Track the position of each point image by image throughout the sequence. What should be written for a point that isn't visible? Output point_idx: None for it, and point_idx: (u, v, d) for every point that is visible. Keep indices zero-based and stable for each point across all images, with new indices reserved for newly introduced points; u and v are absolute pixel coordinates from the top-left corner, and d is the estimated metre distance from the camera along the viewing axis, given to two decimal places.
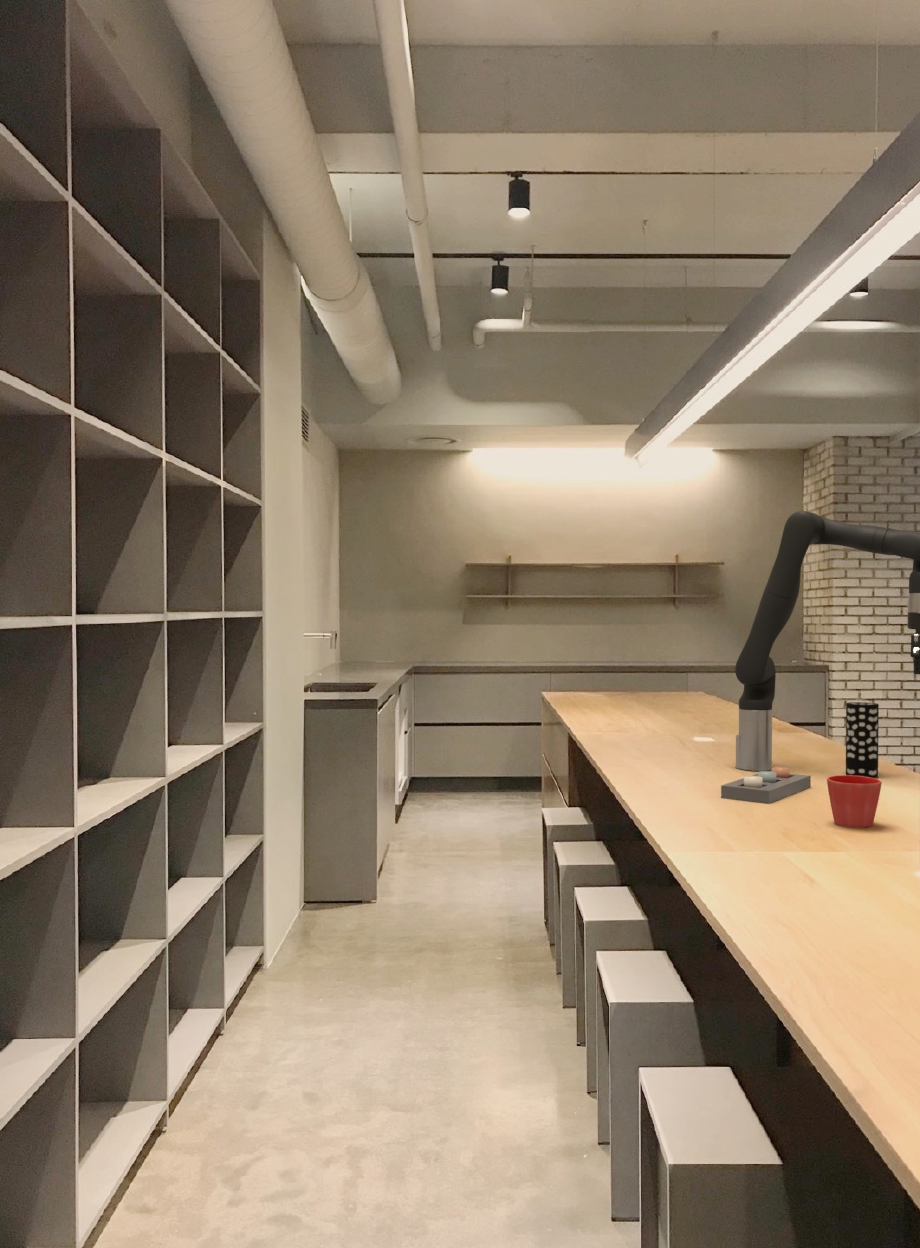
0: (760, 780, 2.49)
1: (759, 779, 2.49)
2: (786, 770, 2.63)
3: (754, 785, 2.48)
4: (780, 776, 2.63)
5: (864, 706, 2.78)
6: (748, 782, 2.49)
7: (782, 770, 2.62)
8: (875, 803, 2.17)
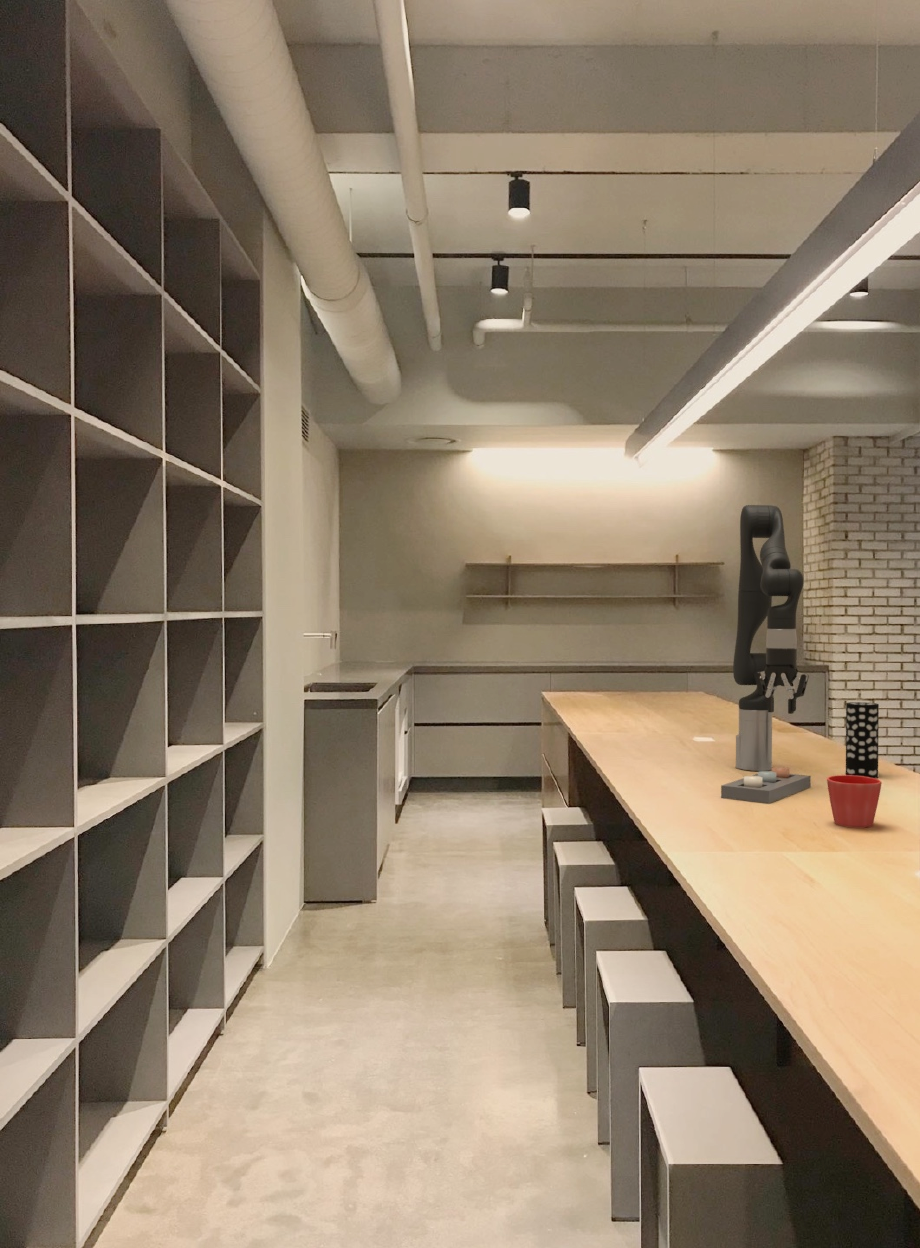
0: (760, 780, 2.49)
1: (759, 779, 2.49)
2: (786, 770, 2.63)
3: (754, 785, 2.48)
4: (780, 776, 2.63)
5: (864, 706, 2.78)
6: (748, 782, 2.49)
7: (782, 770, 2.62)
8: (875, 803, 2.17)
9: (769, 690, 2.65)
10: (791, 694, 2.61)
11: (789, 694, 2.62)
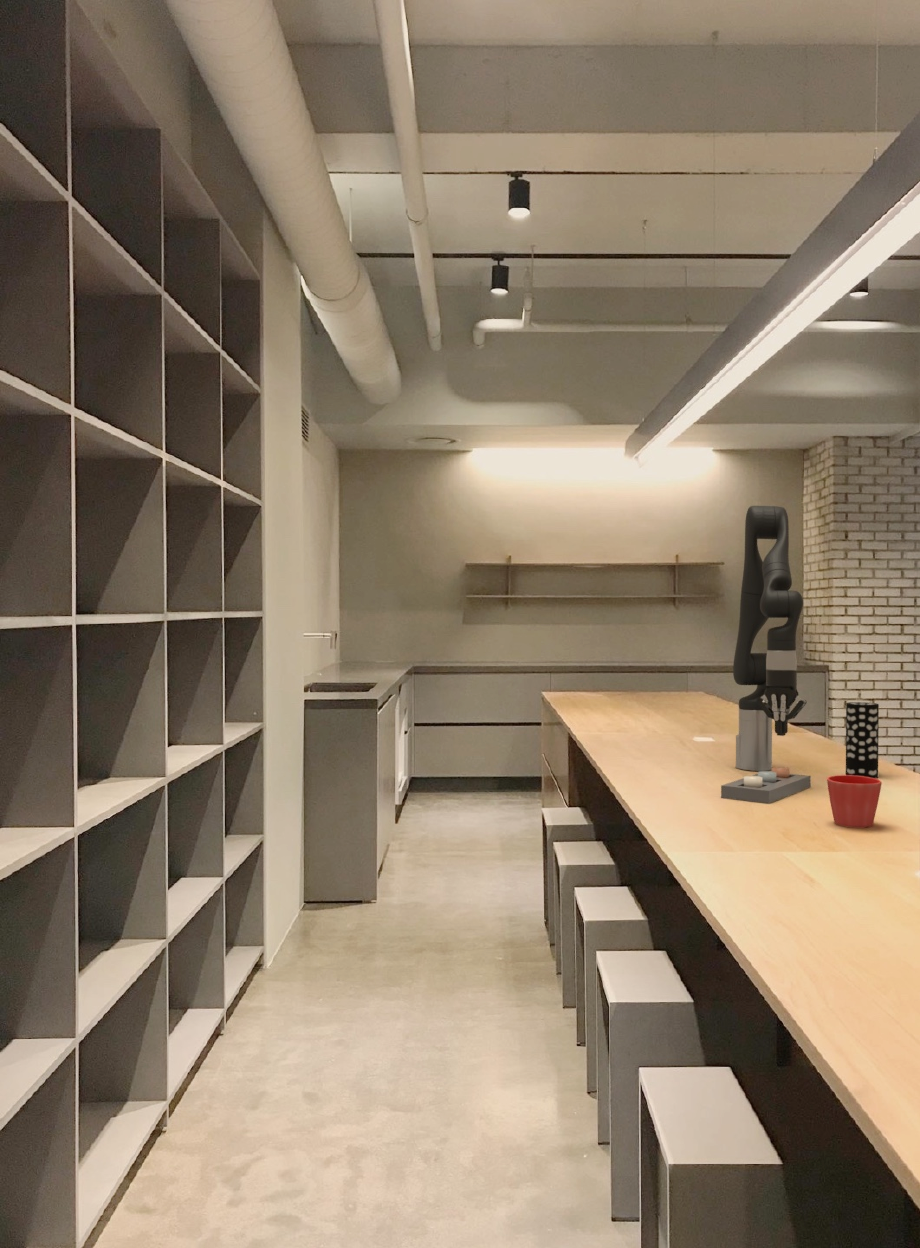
0: (760, 780, 2.49)
1: (759, 779, 2.49)
2: (786, 770, 2.63)
3: (754, 785, 2.48)
4: (780, 776, 2.63)
5: (864, 706, 2.78)
6: (748, 782, 2.49)
7: (782, 770, 2.62)
8: (875, 803, 2.17)
9: (776, 713, 2.64)
10: (783, 716, 2.63)
11: (782, 716, 2.63)
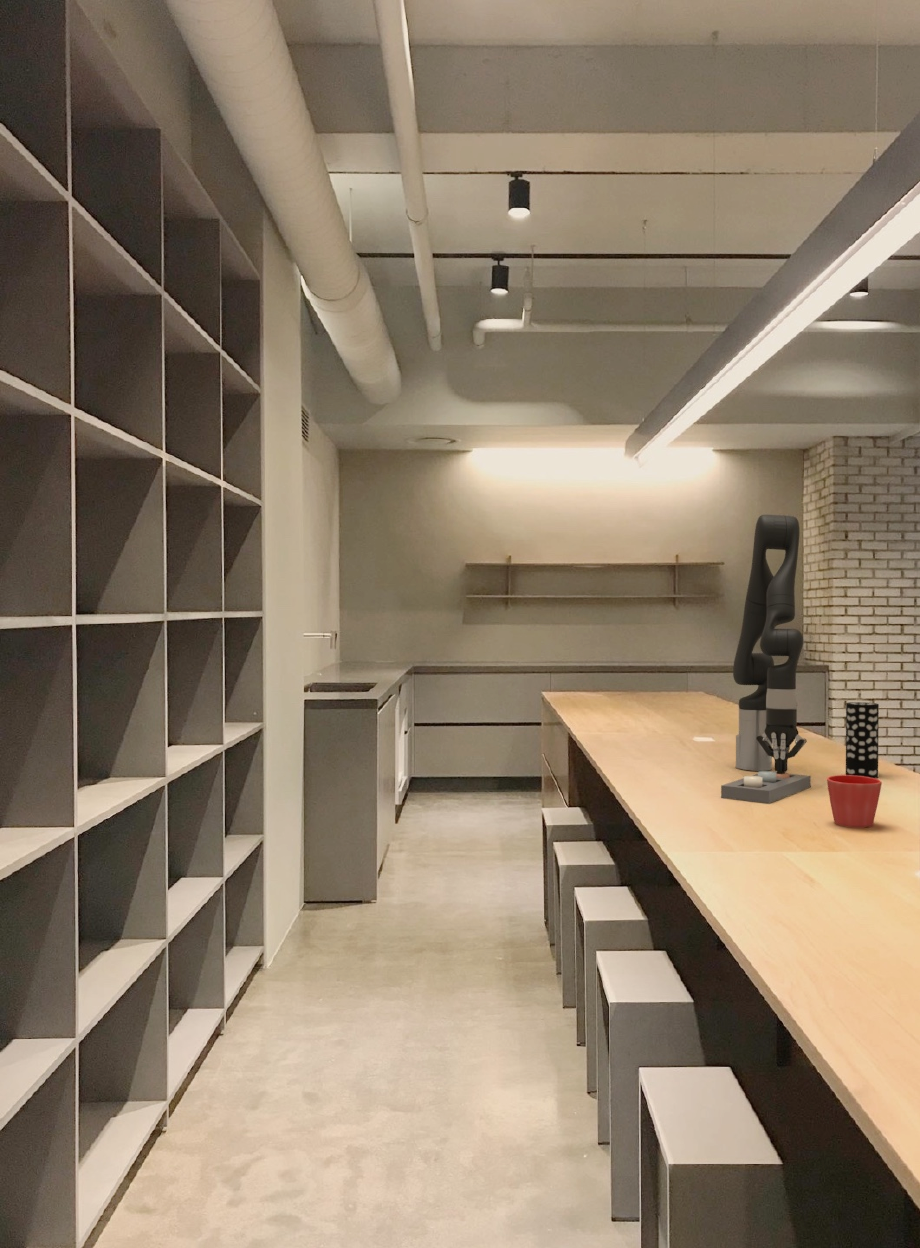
0: (760, 780, 2.49)
1: (759, 779, 2.49)
2: (786, 775, 2.63)
3: (754, 785, 2.48)
4: None
5: (864, 706, 2.78)
6: (748, 782, 2.49)
7: (782, 775, 2.62)
8: (875, 803, 2.17)
9: (776, 751, 2.64)
10: (782, 755, 2.63)
11: (781, 754, 2.63)
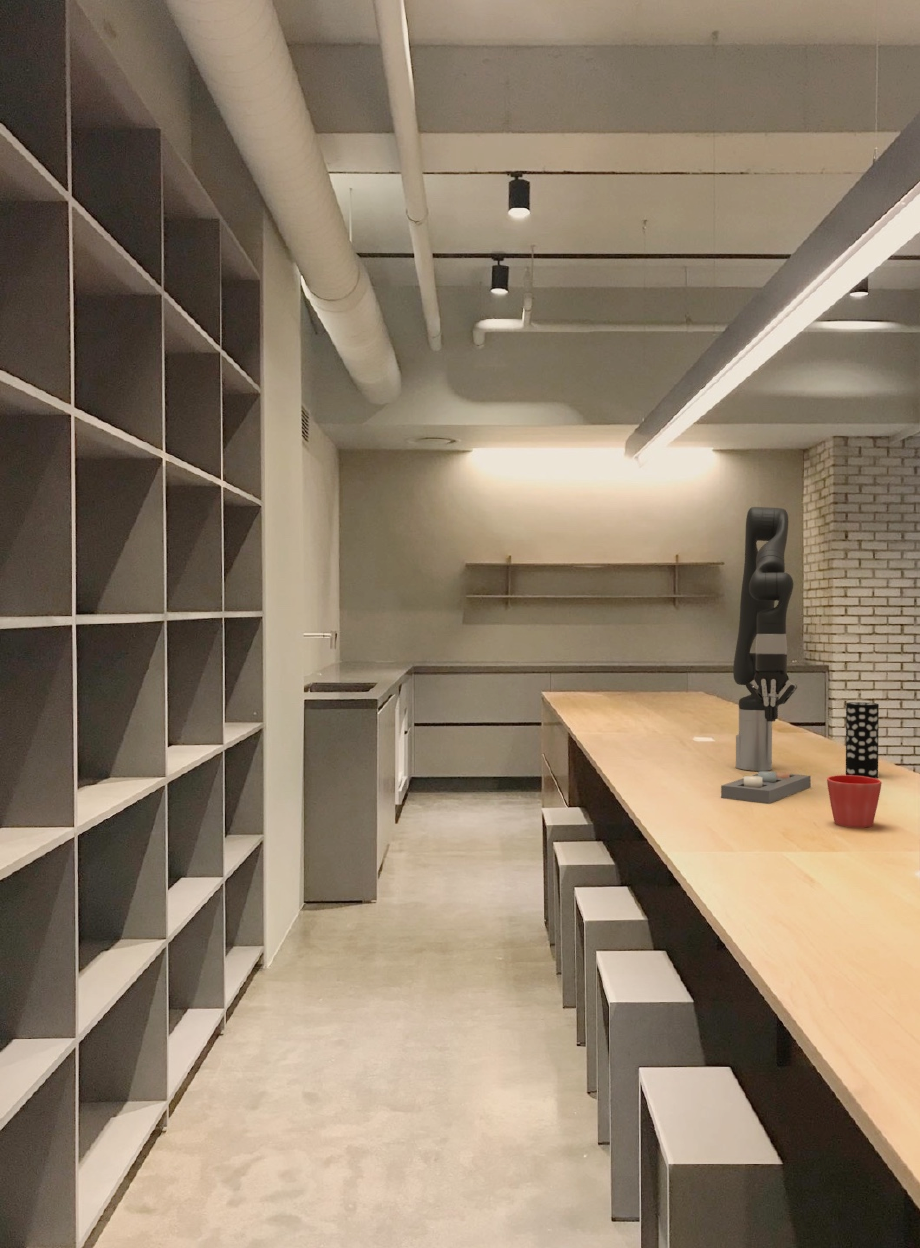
0: (760, 780, 2.49)
1: (759, 779, 2.49)
2: (786, 776, 2.63)
3: (754, 785, 2.48)
4: None
5: (864, 706, 2.78)
6: (748, 782, 2.49)
7: (782, 776, 2.62)
8: (875, 803, 2.17)
9: (766, 698, 2.57)
10: (773, 701, 2.56)
11: (772, 701, 2.56)
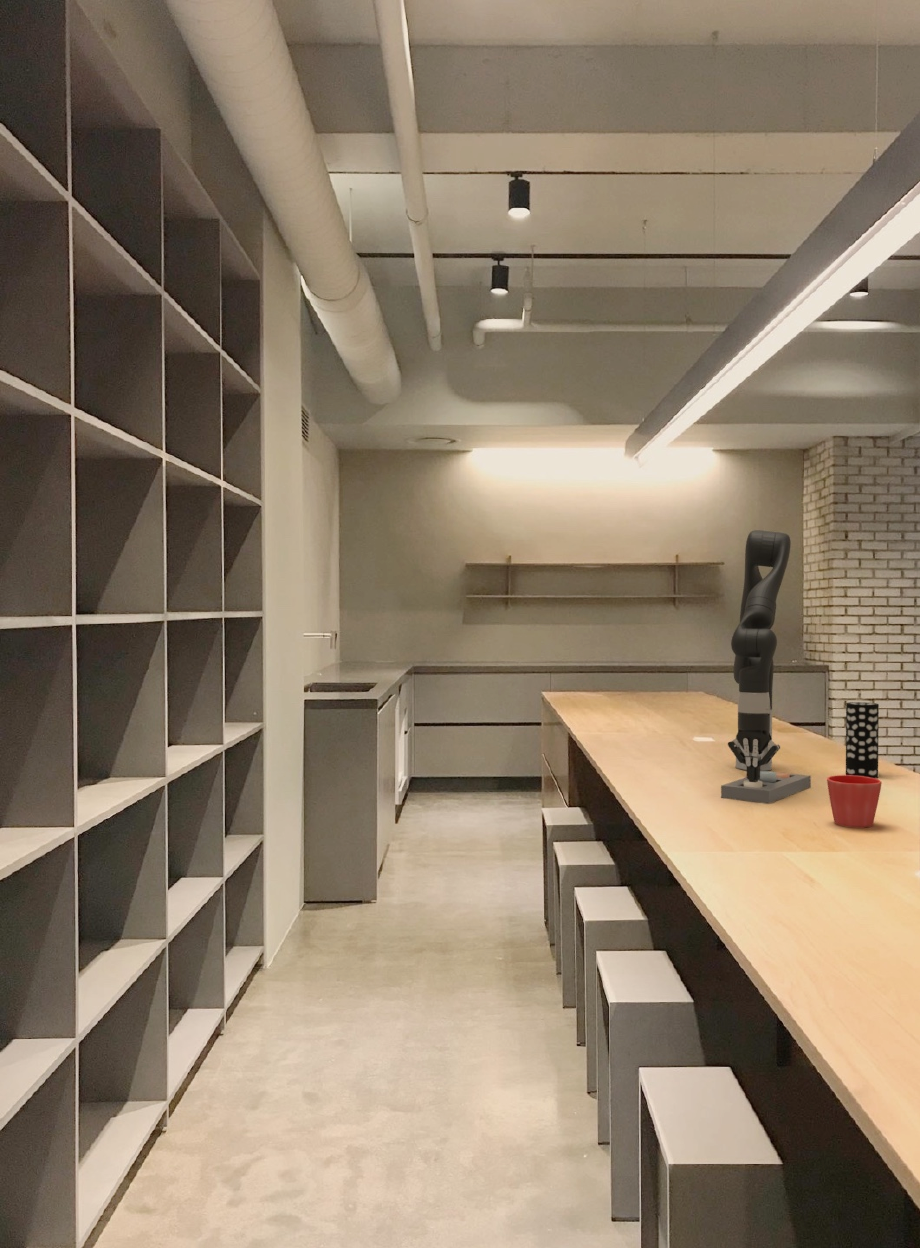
0: (760, 784, 2.49)
1: (759, 783, 2.49)
2: (786, 776, 2.63)
3: None
4: None
5: (864, 706, 2.78)
6: (748, 786, 2.49)
7: (782, 776, 2.62)
8: (875, 803, 2.17)
9: (748, 758, 2.50)
10: (755, 762, 2.49)
11: (754, 761, 2.49)
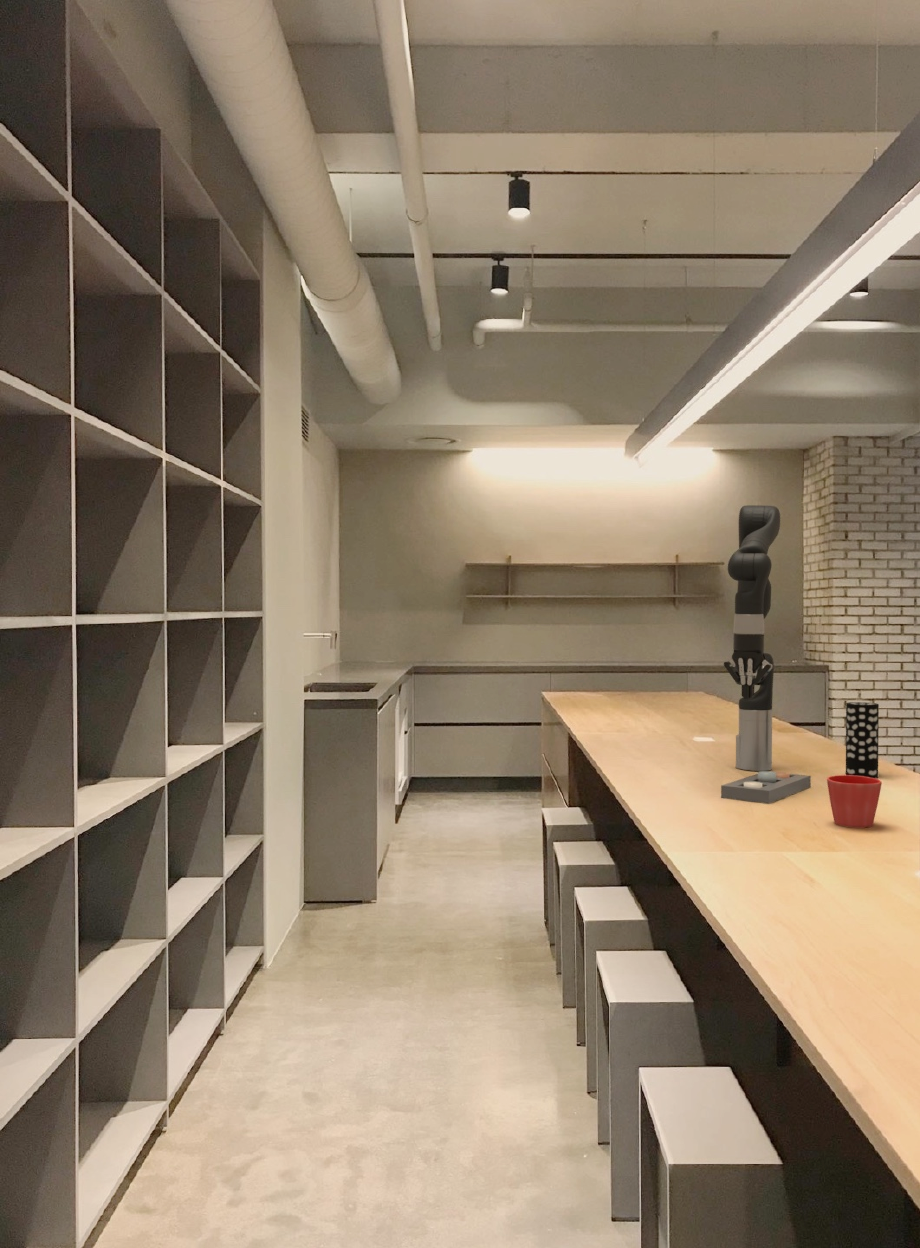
0: (760, 786, 2.49)
1: (759, 785, 2.49)
2: (786, 776, 2.63)
3: None
4: None
5: (864, 706, 2.78)
6: None
7: (782, 776, 2.62)
8: (875, 803, 2.17)
9: (742, 677, 2.62)
10: (749, 680, 2.61)
11: (748, 680, 2.61)
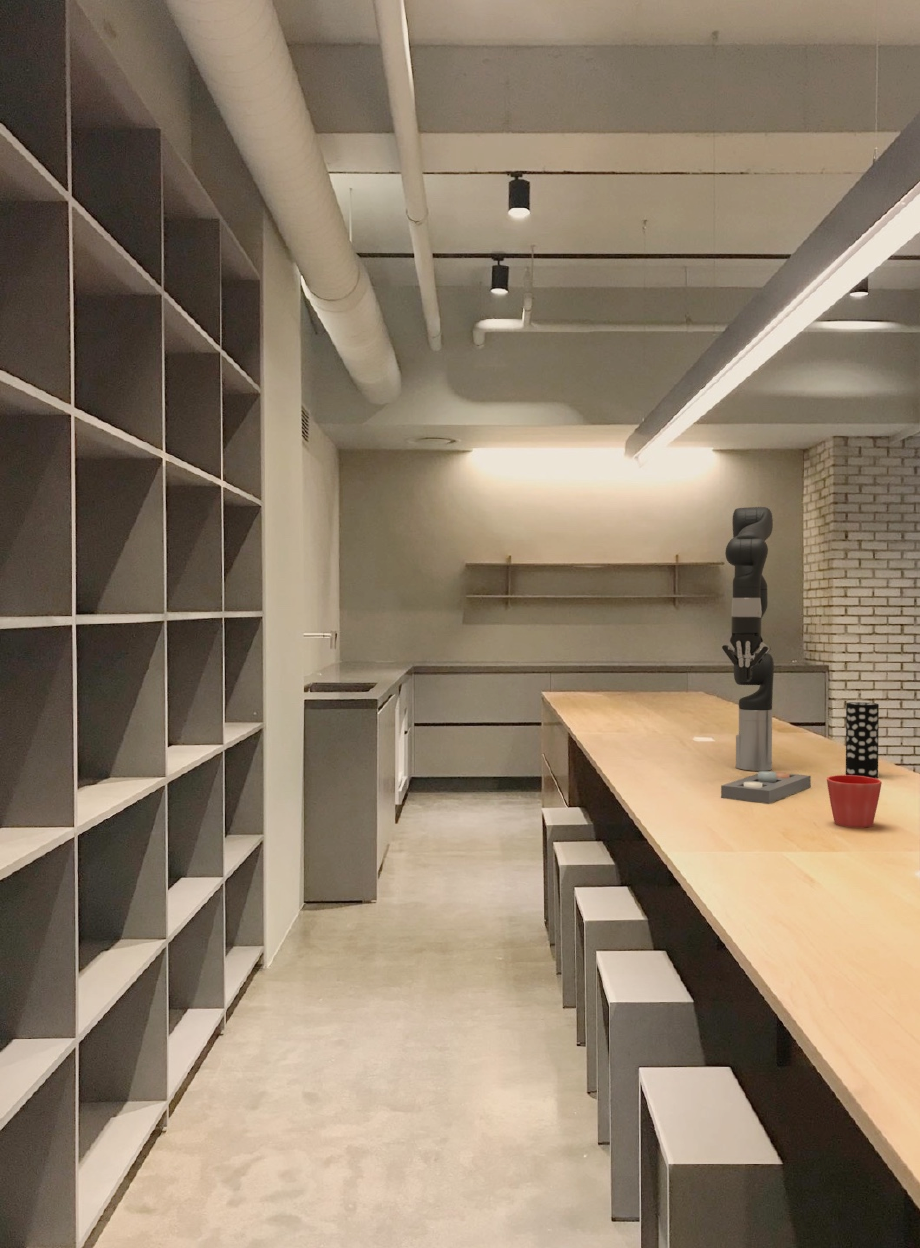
0: (760, 786, 2.49)
1: (759, 785, 2.49)
2: (786, 776, 2.63)
3: None
4: None
5: (864, 706, 2.78)
6: None
7: (782, 776, 2.62)
8: (875, 803, 2.17)
9: (741, 659, 2.68)
10: (747, 662, 2.67)
11: (746, 662, 2.68)
